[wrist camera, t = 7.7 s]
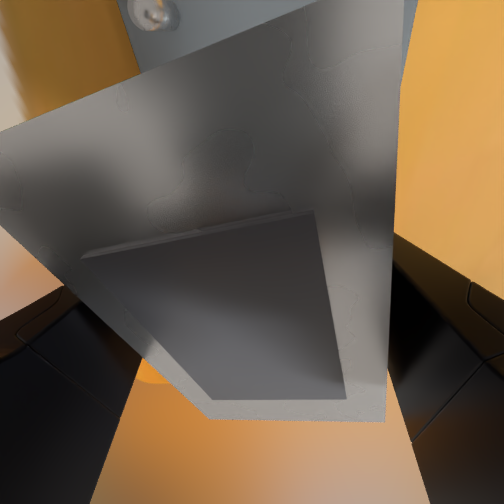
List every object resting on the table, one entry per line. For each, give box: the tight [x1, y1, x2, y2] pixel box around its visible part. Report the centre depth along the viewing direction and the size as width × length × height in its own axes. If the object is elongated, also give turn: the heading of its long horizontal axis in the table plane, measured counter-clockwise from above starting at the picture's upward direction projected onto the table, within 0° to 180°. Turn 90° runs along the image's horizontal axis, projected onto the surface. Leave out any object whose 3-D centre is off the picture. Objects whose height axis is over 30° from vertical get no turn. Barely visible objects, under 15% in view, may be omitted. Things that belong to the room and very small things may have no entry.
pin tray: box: [117, 0, 418, 86], centre depth 15 cm, size 14×17×4 cm
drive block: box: [0, 0, 404, 422], centre depth 8 cm, size 6×10×5 cm, turn 17°
